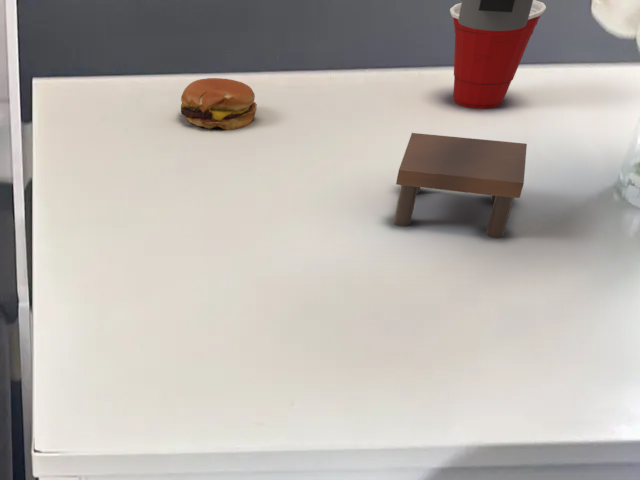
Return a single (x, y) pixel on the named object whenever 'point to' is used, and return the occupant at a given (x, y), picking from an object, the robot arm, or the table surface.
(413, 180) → the stool
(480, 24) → the bottle
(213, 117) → the burger
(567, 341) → the table surface
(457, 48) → the plastic cup
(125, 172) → the table surface
